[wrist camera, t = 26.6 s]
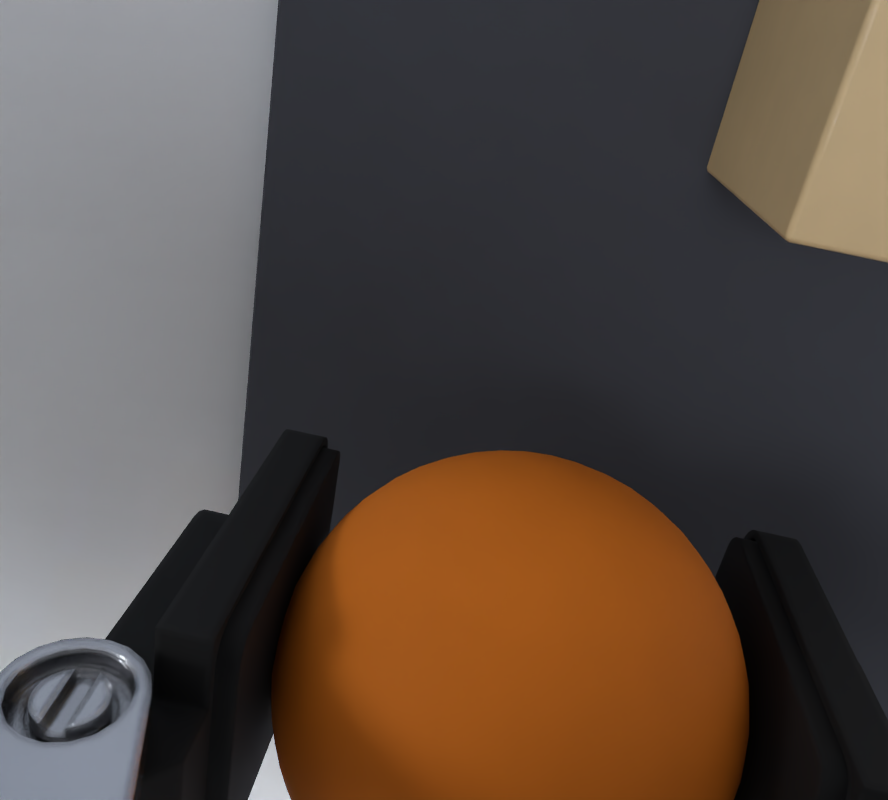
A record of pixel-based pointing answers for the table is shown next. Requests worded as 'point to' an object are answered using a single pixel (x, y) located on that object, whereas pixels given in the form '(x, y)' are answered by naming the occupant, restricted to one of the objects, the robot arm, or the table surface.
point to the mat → (562, 277)
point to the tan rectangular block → (812, 124)
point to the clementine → (508, 646)
